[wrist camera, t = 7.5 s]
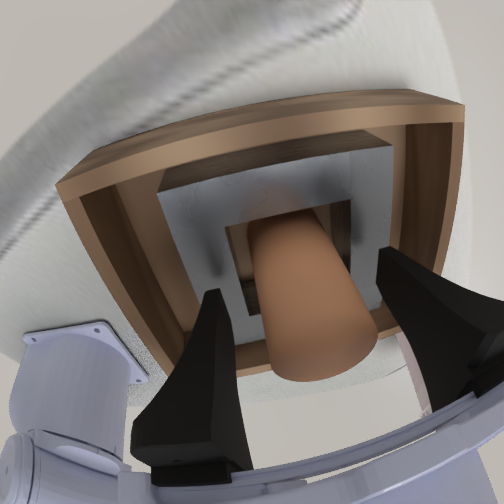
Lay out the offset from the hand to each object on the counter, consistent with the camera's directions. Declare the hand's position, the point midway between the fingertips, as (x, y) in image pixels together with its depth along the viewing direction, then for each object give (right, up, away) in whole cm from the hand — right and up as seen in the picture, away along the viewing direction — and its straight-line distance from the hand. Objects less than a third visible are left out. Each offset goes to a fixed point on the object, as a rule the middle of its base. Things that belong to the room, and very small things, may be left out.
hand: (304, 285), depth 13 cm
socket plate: (-1, +3, +4) cm, 5 cm away
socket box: (-1, +3, +4) cm, 5 cm away
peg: (-1, +3, +3) cm, 4 cm away
